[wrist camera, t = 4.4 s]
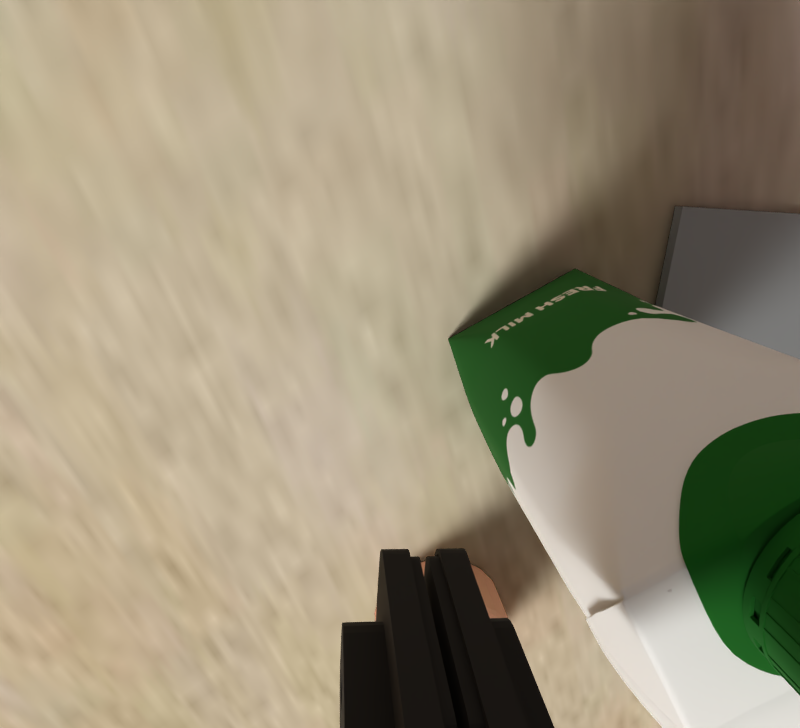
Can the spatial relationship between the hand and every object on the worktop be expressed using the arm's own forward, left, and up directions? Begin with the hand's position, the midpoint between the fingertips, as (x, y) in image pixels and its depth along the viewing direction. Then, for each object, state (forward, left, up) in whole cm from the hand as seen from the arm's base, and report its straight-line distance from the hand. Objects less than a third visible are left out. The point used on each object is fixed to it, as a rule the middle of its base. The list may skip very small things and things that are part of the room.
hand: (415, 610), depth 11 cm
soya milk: (0, +9, -17) cm, 19 cm away
